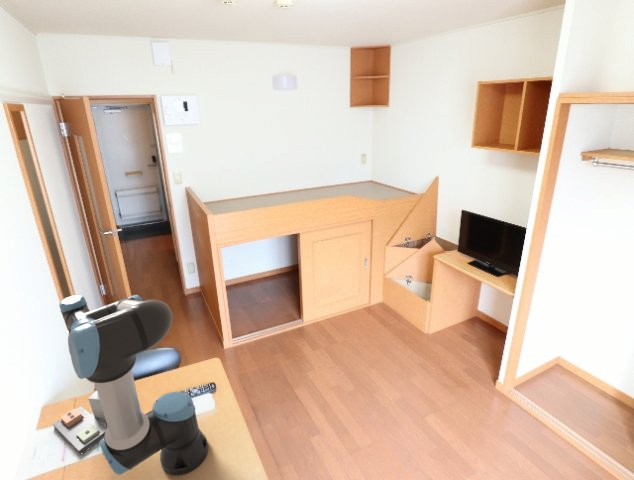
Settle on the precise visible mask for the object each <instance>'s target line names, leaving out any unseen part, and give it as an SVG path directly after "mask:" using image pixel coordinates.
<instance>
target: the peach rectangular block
mask: <svg viewBox="0 0 634 480" xmlns="http://www.w3.org/2000/svg"><path fill="white" fill-rule="evenodd" d="M76 409H77V408H75V407H74V408H73V409H71V410H69V411H68V412H66V413H65V414H63V415H61V416H60V419H61V420H62V422H63V425H64V426H65V427H66V428H67V429H68V428H69V427H71V426H72V425H74V424H75V423H77V422H78V421H80V420H81V419H83V417H82V415H81V413H80V412H79V411H78V410H76Z"/></svg>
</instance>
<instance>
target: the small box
mask: <svg viewBox="0 0 634 480" xmlns="http://www.w3.org/2000/svg"><path fill="white" fill-rule="evenodd" d="M87 400H88V402H89V405H90V408H91V411H92V413H93V417H94V418H95V419H97V420H98V421H103V422H106V419H105V416H104V412H103V409H102V406H101V403H100V399H99V396H98V393H97V391H96V390H95V391H94V392H93V393H92V394H91V395H90V396H89V397H88V398H87Z"/></svg>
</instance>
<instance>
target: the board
mask: <svg viewBox="0 0 634 480" xmlns="http://www.w3.org/2000/svg"><path fill="white" fill-rule="evenodd" d="M75 409H76V410H78V411H79V412H80V413H81V415H82V417H83V419H81V420H80V421H78V422H77V423H75V424H74V425H72V426H71V427H69V428H67V427H66V426H65V425H64V424H63V422H62V420H61V418H60V419H58V420H57V421H55V422H54V423H52V425H53V428H54V429H55V431H57V433H58V434H60V436H62V438H63V439H64V440H65V441H66V442H67V443H68V444H69V445H70V446H71V447H72V448H73V450H75V452H77V453H78V454H79V455H80V454H81V453H82V454H83V452H84V451H85V452H87V451H88V450H89V449H91V448H92V447H94V446H95V445H97V444H98V443H100V440H101V439H102V438H103V437H104V436H105V431H106V429H107V427H105V426H104V424H103V423H101V422H100V420H97V419H95V417H94V415H92V414H91V413H90V412H89V411H88V410H87V409H86V408H85V407H83V406H82V405H80V406H79V407H77V408H75ZM91 424H92V425H93V426H94V427H95V428H96V429H97V430H98V432H99V434H98V435H96V436H95V437H94V438H92V439H91V440H89V441H88V442H87V443H85V444H84V445H83V444H82V443H81V442H80V441H79V440H78V437H77V433H79V432H80V431H82V430H83V429H85V428H86V427H88V426H89V425H91ZM94 444H95V445H94ZM91 446H92V447H91ZM90 447H91V448H90ZM88 448H89V449H88ZM87 449H88V450H87ZM86 450H87V451H86ZM85 452H84V453H85ZM82 454H81V455H82Z"/></svg>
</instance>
